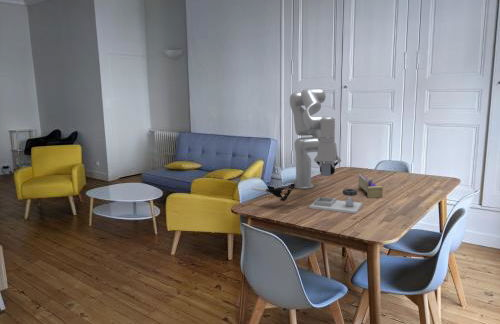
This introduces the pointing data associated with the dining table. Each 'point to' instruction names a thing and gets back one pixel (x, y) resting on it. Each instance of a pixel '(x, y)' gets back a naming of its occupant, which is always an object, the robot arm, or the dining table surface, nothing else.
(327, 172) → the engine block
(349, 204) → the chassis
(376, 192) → the toy sofa
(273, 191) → the rocket toy
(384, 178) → the dining table surface
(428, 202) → the dining table surface
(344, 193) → the wheel
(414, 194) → the dining table surface
